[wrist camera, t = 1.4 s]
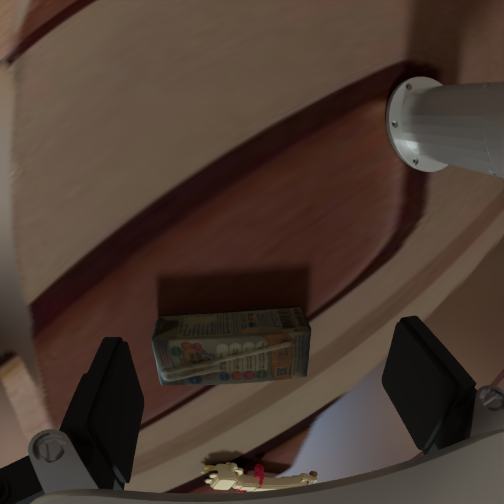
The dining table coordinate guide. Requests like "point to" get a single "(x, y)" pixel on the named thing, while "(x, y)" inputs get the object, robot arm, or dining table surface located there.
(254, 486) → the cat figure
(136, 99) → the dining table surface
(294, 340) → the beverage carton
